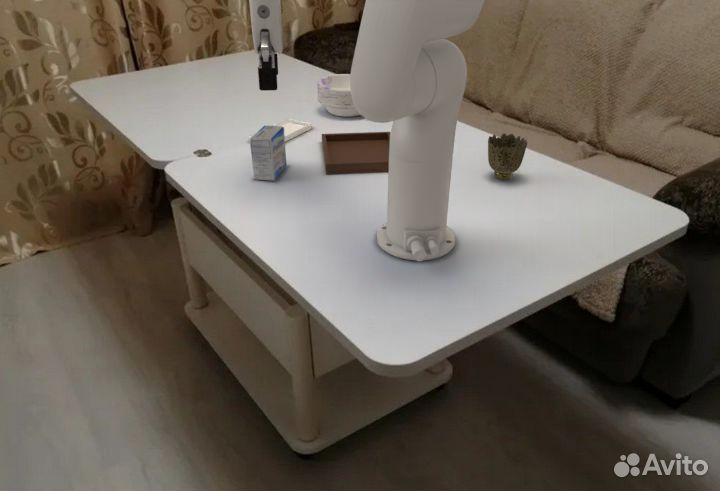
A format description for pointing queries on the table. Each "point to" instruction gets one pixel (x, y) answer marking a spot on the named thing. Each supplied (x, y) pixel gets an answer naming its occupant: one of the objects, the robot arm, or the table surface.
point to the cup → (505, 155)
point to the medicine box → (268, 152)
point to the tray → (356, 152)
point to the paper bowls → (336, 95)
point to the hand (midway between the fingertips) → (269, 82)
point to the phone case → (290, 128)
